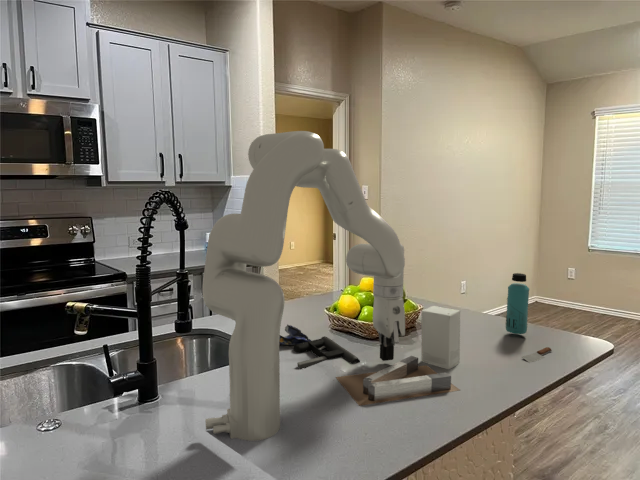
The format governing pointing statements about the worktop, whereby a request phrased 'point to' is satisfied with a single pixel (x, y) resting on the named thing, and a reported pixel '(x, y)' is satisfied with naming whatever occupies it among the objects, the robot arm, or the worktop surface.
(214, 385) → the worktop surface
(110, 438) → the worktop surface
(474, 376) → the worktop surface
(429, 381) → the arm
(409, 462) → the worktop surface
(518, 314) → the beverage bottle
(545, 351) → the cleaver
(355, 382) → the cutting board
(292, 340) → the snack package
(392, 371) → the tongs arm
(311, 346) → the black submachine gun
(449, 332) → the skincare box
